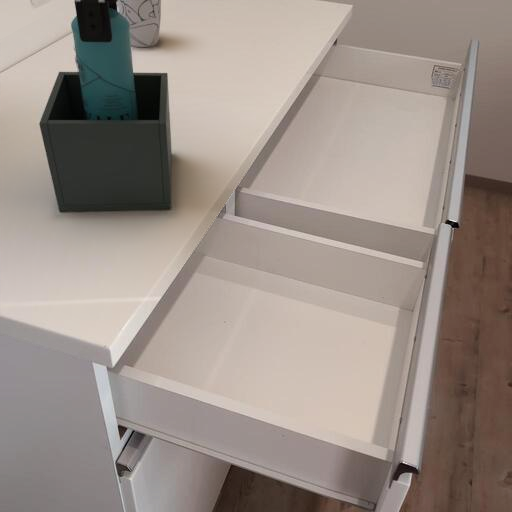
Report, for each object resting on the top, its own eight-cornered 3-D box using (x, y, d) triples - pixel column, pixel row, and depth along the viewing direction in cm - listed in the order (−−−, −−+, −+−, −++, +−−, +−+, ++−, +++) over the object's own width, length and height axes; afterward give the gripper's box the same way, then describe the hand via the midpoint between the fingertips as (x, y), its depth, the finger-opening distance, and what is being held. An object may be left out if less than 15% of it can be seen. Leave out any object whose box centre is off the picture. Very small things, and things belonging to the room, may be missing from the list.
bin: (59, 212, 67) (39, 123, 59) (74, 154, 77) (58, 71, 69) (171, 209, 68) (166, 123, 61) (171, 153, 79) (167, 72, 71)
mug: (107, 33, 112) (100, -19, 105) (144, 27, 116) (140, -24, 109) (133, 52, 105) (128, -3, 98) (171, 45, 109) (168, -9, 103)
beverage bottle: (125, 130, 73) (107, -34, 60) (152, 152, 69) (138, -18, 56) (80, 144, 70) (50, -26, 56) (105, 167, 66) (79, -9, 53)
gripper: (46, -189, 54) (75, 2, 66) (6, -175, 41) (51, 59, 53) (124, -184, 55) (139, 4, 66) (108, -169, 42) (130, 60, 54)
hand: (100, 27), depth 60 cm, fingers closed on beverage bottle, 6 cm apart
